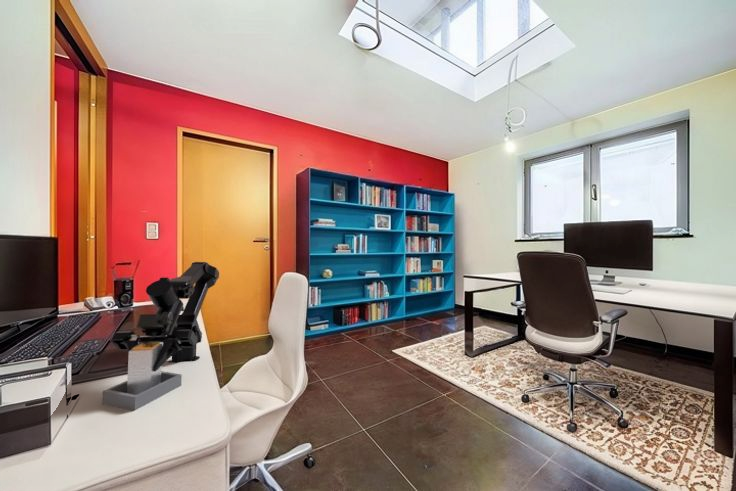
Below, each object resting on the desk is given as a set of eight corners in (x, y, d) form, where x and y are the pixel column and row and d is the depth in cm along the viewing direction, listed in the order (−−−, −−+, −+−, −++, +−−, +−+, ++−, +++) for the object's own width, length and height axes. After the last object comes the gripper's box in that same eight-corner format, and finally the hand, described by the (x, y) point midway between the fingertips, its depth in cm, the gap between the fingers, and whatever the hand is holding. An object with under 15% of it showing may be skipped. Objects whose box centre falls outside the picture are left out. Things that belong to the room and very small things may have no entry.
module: (139, 389, 72) (141, 341, 72) (160, 388, 73) (162, 341, 73) (126, 400, 67) (128, 348, 67) (149, 398, 68) (151, 347, 68)
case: (152, 383, 77) (152, 369, 77) (181, 389, 75) (181, 374, 75) (102, 407, 65) (102, 391, 65) (134, 414, 63) (135, 397, 63)
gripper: (116, 301, 72) (80, 359, 61) (194, 300, 76) (173, 355, 65) (134, 322, 80) (104, 378, 69) (204, 321, 84) (186, 373, 73)
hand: (142, 371), depth 69 cm, fingers closed on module, 5 cm apart
